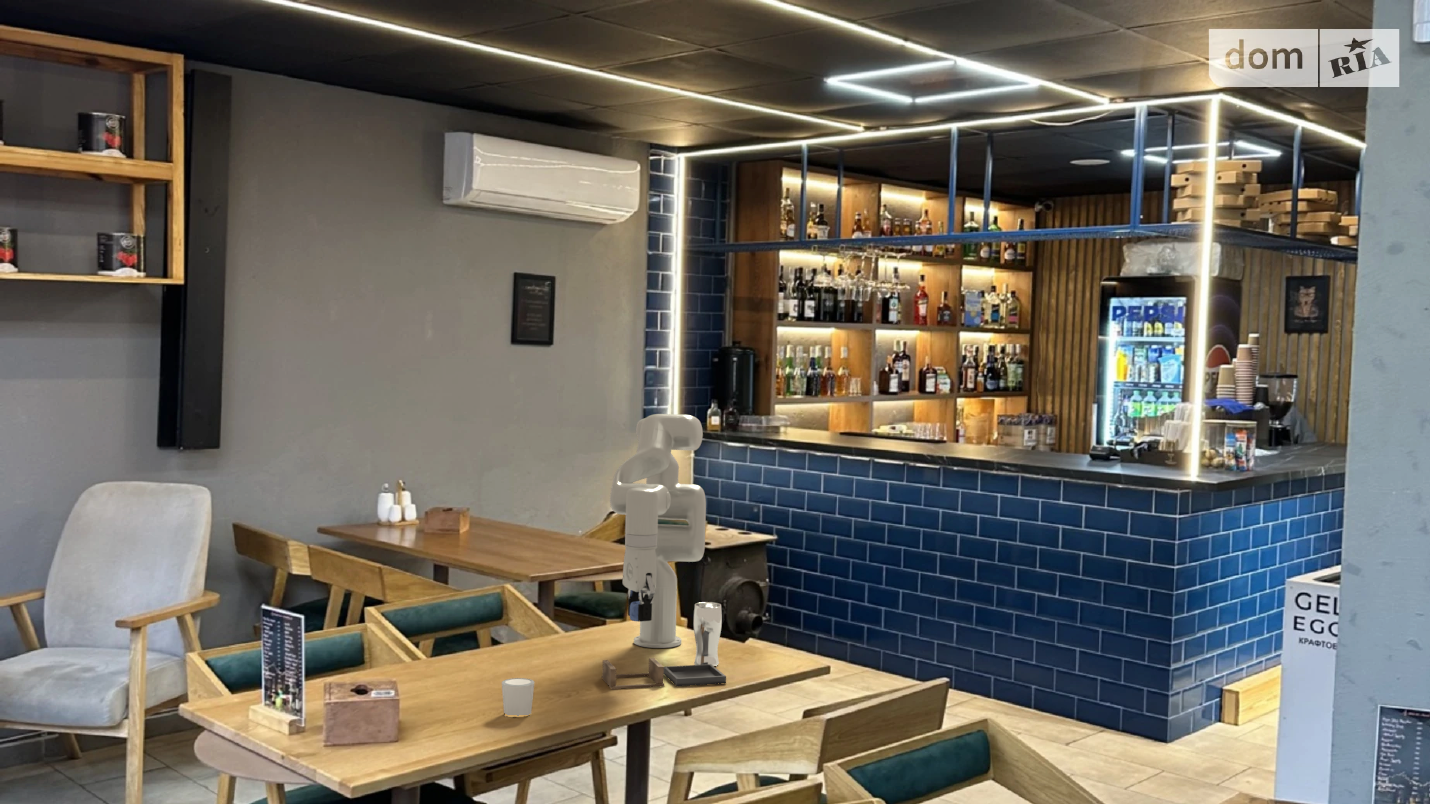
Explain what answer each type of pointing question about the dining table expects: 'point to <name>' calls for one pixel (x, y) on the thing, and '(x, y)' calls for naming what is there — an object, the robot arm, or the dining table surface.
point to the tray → (694, 675)
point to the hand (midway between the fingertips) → (639, 617)
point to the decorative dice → (634, 611)
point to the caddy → (633, 675)
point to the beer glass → (707, 632)
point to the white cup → (517, 696)
